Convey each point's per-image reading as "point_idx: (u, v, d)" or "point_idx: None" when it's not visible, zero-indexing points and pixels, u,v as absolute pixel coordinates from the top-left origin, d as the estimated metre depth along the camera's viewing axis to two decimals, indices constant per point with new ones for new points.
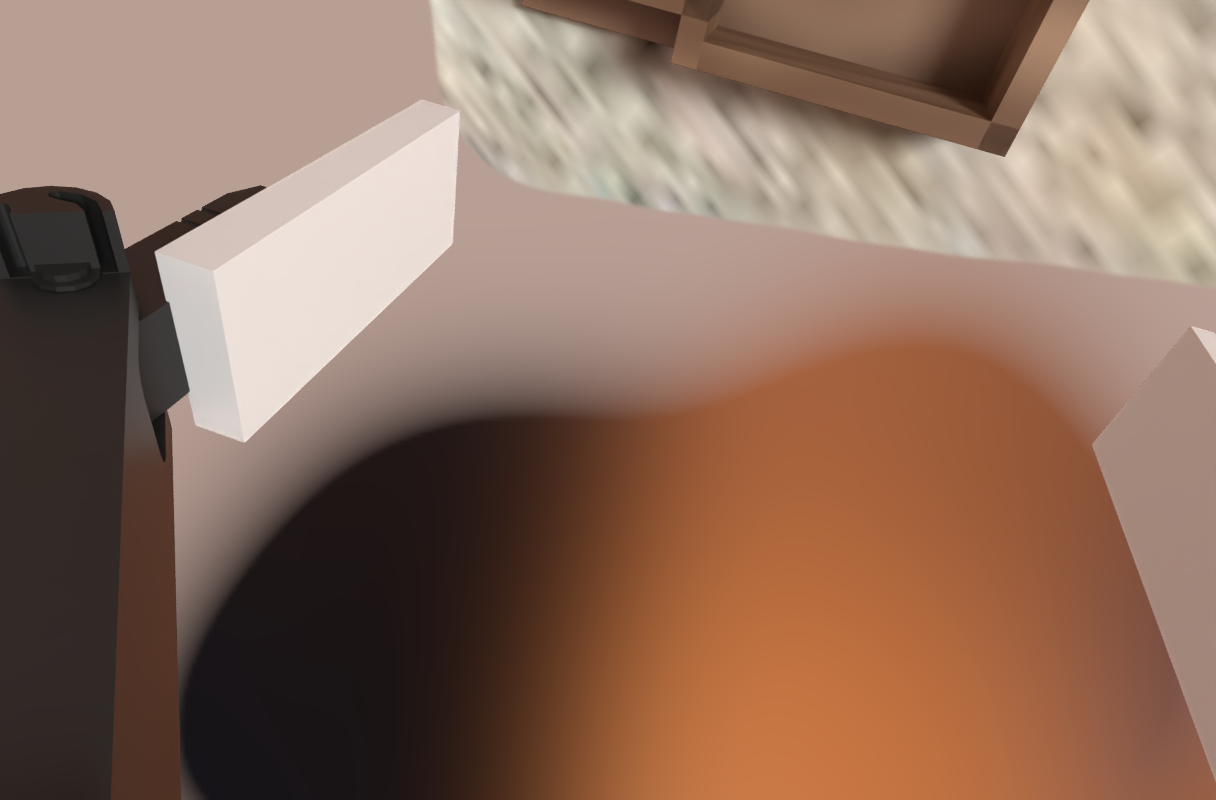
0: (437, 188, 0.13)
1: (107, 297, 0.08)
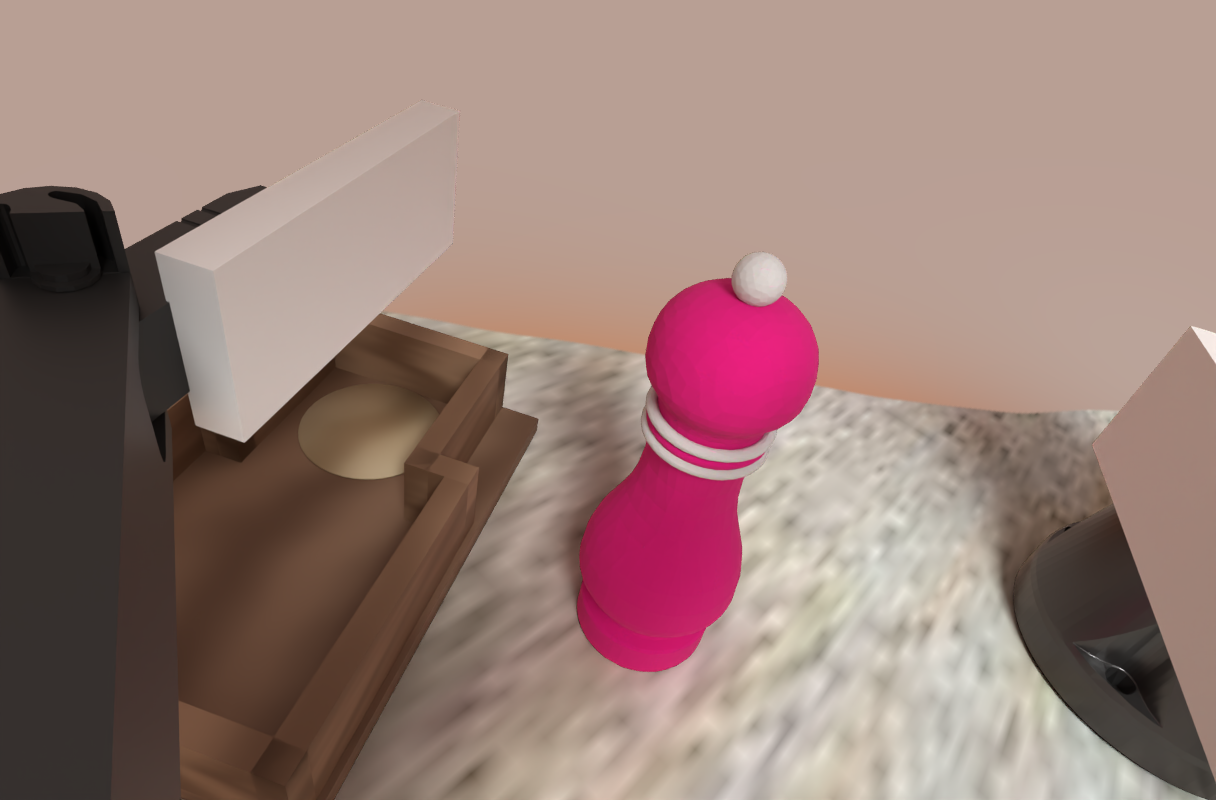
0: (437, 188, 0.13)
1: (107, 297, 0.08)
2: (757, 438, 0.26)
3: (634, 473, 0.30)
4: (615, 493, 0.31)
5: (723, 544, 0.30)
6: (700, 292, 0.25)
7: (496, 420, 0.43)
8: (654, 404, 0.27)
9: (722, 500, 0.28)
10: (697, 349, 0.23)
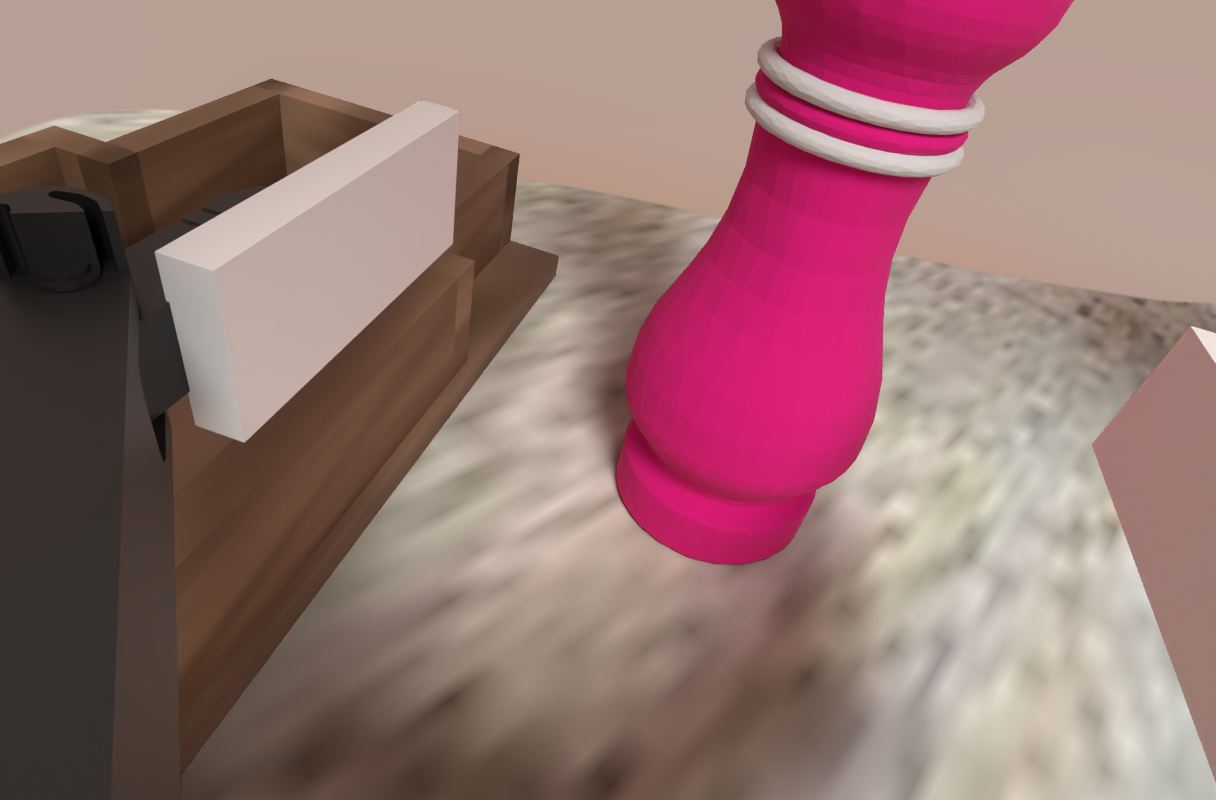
0: (437, 188, 0.13)
1: (107, 297, 0.08)
2: (962, 98, 0.15)
3: (722, 221, 0.19)
4: (687, 269, 0.20)
5: (866, 336, 0.18)
6: None
7: (502, 253, 0.32)
8: (775, 52, 0.16)
9: (879, 241, 0.17)
10: None
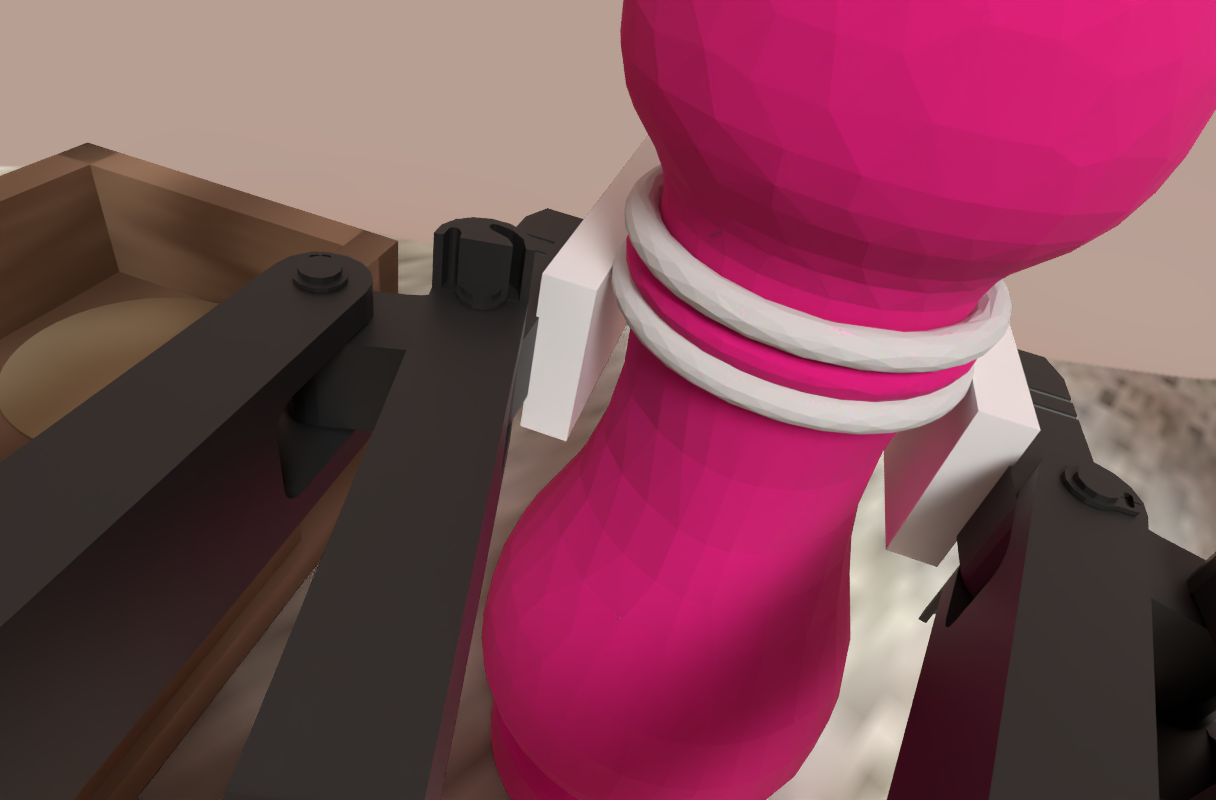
0: None
1: (507, 322, 0.09)
2: (975, 301, 0.08)
3: (598, 430, 0.12)
4: (557, 481, 0.13)
5: (822, 611, 0.12)
6: None
7: None
8: (649, 207, 0.09)
9: (835, 498, 0.10)
10: None
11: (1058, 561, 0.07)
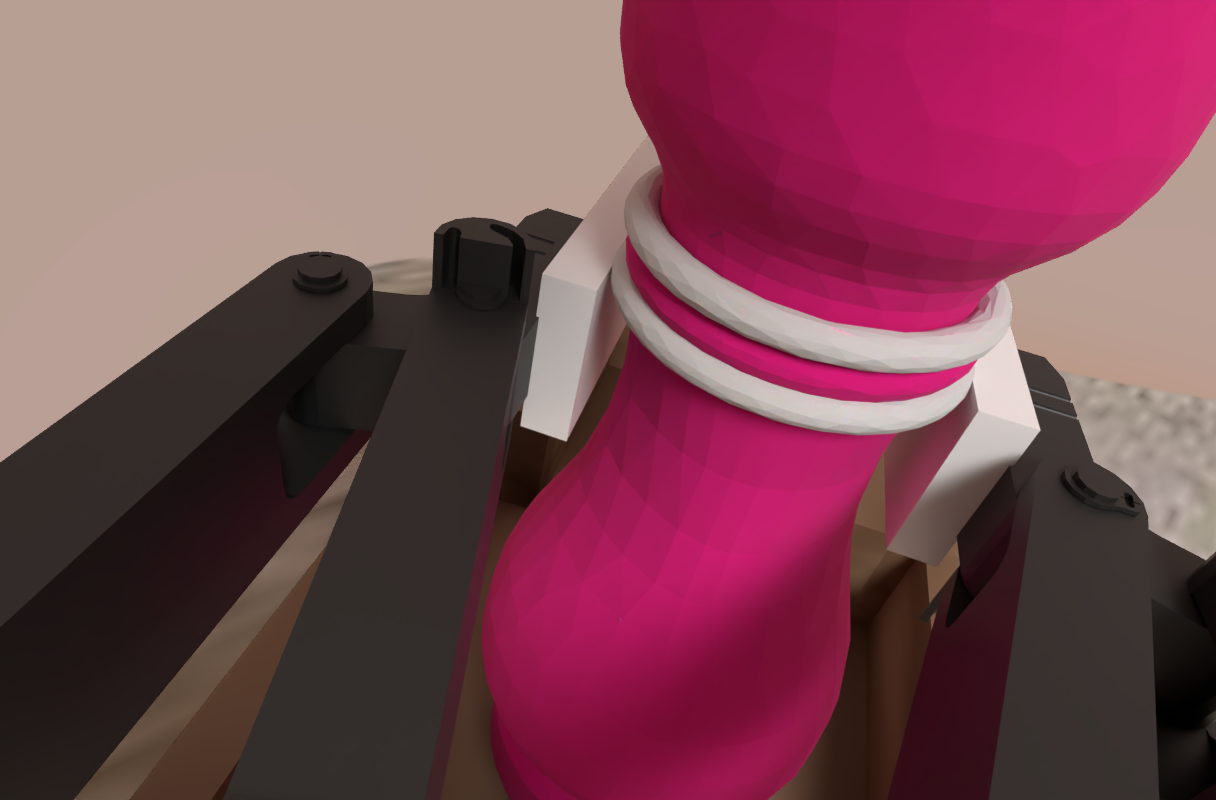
0: None
1: (507, 322, 0.09)
2: (975, 301, 0.08)
3: (598, 431, 0.12)
4: (557, 481, 0.13)
5: (823, 612, 0.12)
6: None
7: None
8: (648, 207, 0.09)
9: (835, 499, 0.10)
10: None
11: (1058, 561, 0.07)
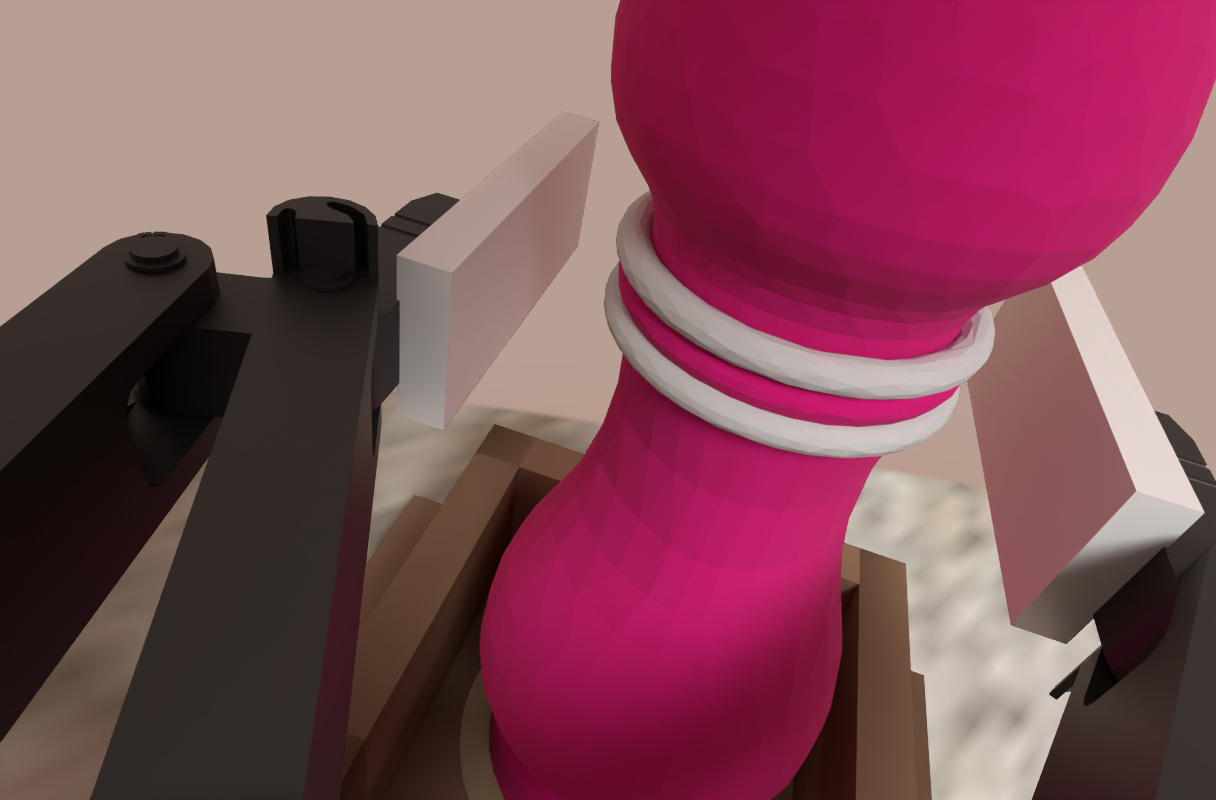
0: (577, 194, 0.14)
1: (357, 301, 0.09)
2: (957, 328, 0.08)
3: (593, 447, 0.12)
4: (553, 495, 0.14)
5: (813, 625, 0.12)
6: None
7: None
8: (640, 234, 0.09)
9: (824, 516, 0.10)
10: None
11: None
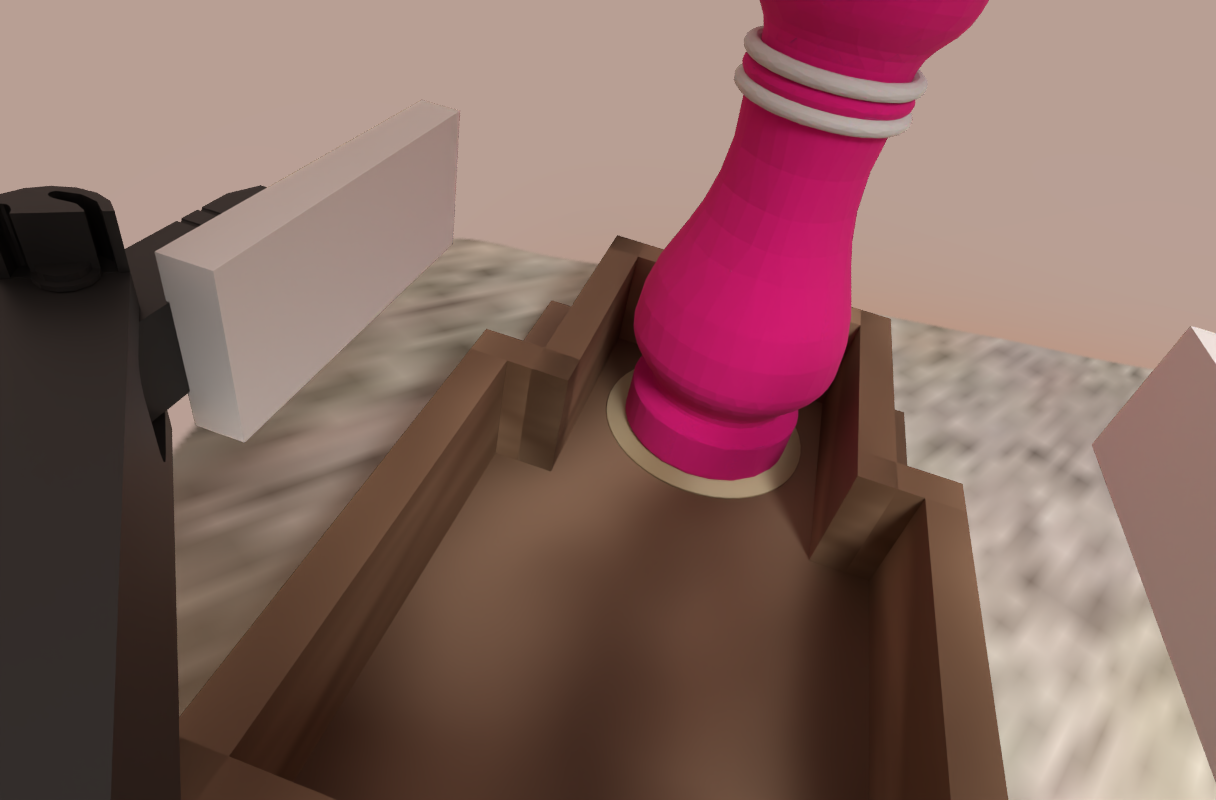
0: (437, 188, 0.13)
1: (107, 297, 0.08)
2: (907, 73, 0.19)
3: (716, 180, 0.22)
4: (686, 223, 0.24)
5: (836, 276, 0.22)
6: None
7: None
8: (758, 38, 0.19)
9: (844, 193, 0.21)
10: None
11: None
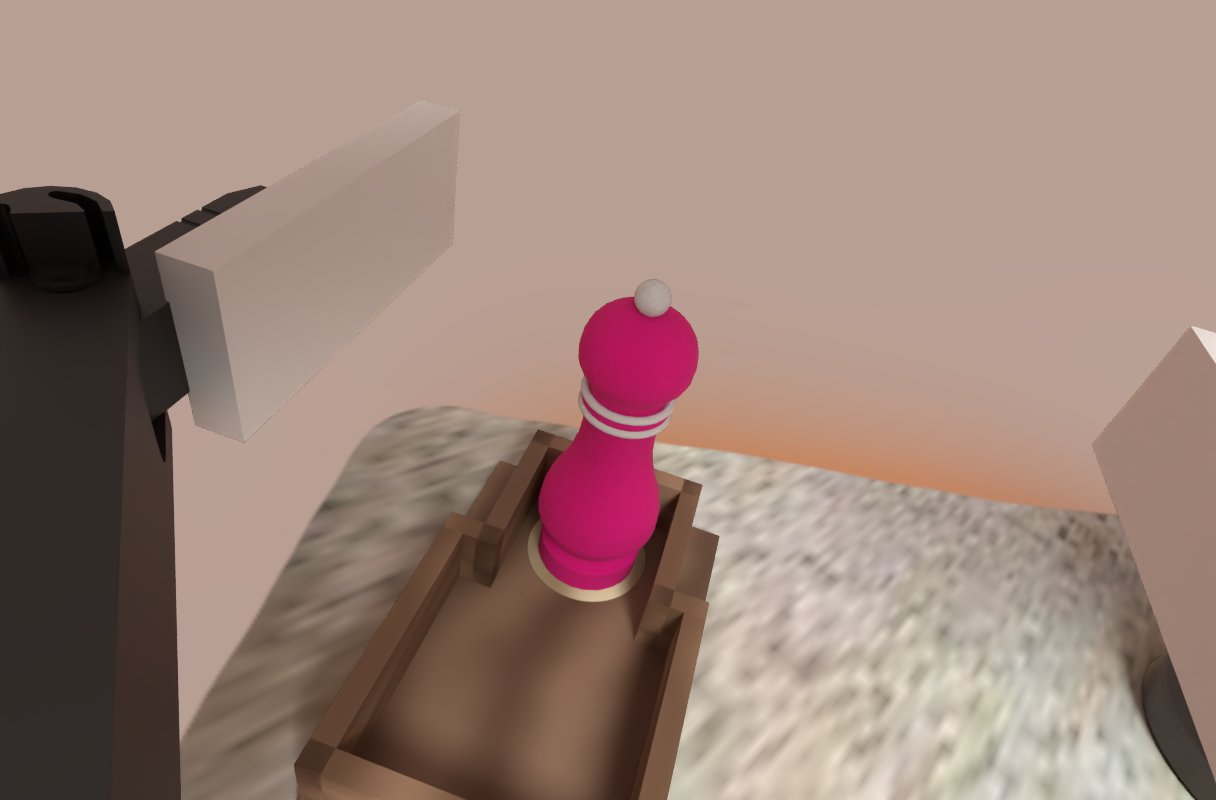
0: (437, 188, 0.13)
1: (107, 297, 0.08)
2: (657, 409, 0.37)
3: (576, 437, 0.41)
4: (564, 453, 0.42)
5: (640, 490, 0.41)
6: (614, 306, 0.36)
7: None
8: (586, 385, 0.38)
9: (636, 455, 0.39)
10: (608, 345, 0.35)
11: None
